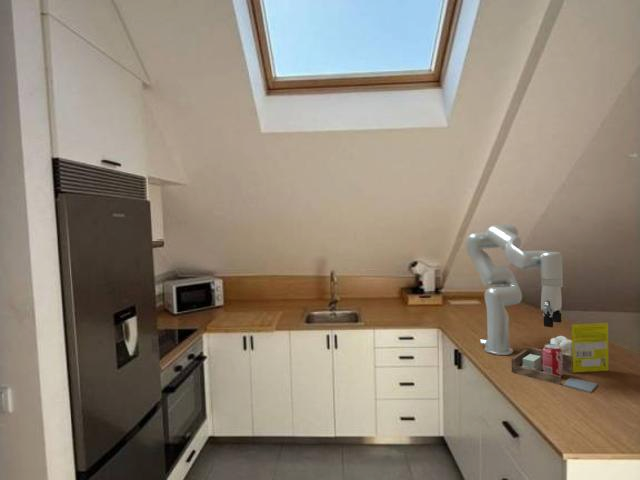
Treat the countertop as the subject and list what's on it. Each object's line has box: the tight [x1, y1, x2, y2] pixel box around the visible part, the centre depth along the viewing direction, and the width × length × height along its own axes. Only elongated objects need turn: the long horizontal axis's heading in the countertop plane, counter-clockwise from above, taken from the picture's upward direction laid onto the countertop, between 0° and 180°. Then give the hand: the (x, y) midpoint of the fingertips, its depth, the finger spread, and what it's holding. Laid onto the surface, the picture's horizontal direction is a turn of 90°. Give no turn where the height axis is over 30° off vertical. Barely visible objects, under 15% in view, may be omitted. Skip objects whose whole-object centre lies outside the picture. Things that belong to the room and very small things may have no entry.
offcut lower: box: [522, 363, 543, 371], centre depth 161 cm, size 5×9×3 cm, turn 131°
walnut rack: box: [511, 346, 574, 385], centre depth 159 cm, size 18×16×7 cm
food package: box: [571, 322, 609, 373], centre depth 157 cm, size 15×1×20 cm, turn 92°
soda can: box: [542, 343, 564, 377], centre depth 156 cm, size 7×7×12 cm
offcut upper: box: [523, 354, 541, 368], centre depth 161 cm, size 4×8×3 cm, turn 131°
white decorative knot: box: [549, 335, 572, 356], centre depth 174 cm, size 11×12×9 cm
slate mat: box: [562, 376, 598, 394], centre depth 145 cm, size 9×9×1 cm
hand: (552, 324), depth 155 cm, fingers open, 9 cm apart
